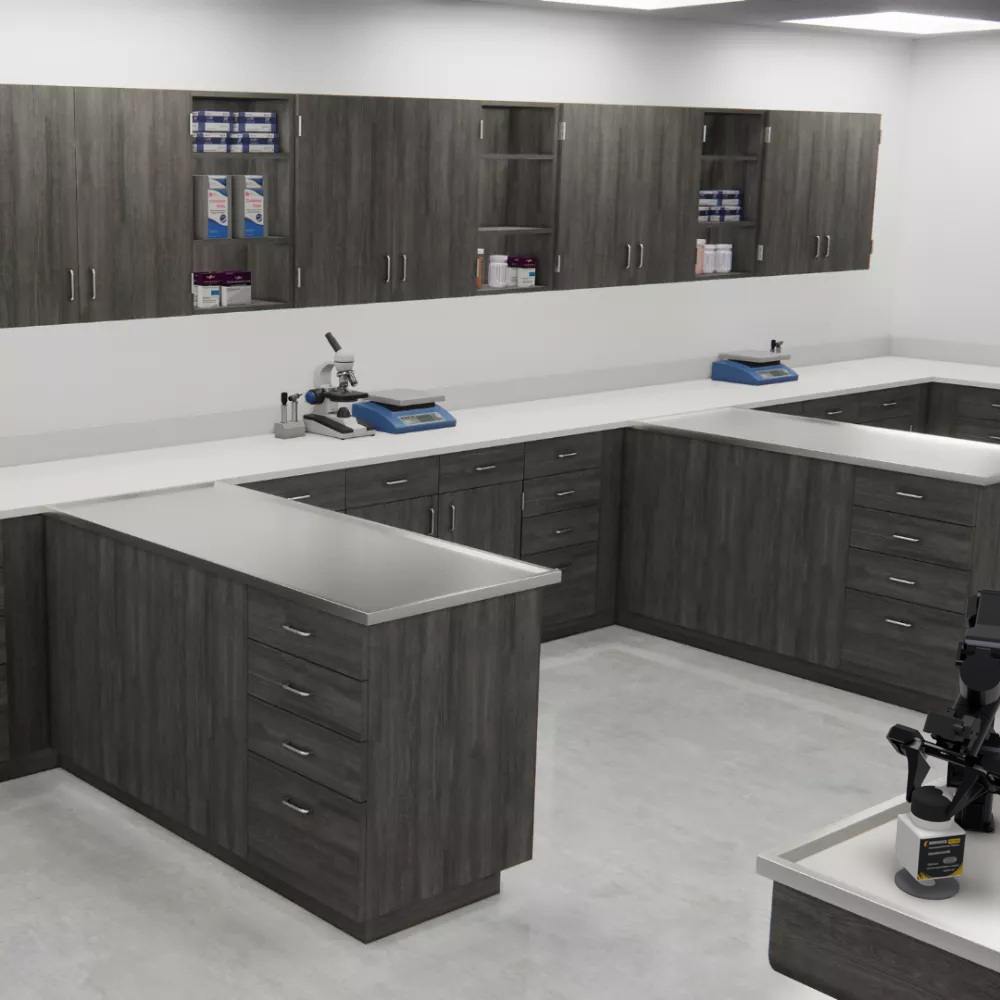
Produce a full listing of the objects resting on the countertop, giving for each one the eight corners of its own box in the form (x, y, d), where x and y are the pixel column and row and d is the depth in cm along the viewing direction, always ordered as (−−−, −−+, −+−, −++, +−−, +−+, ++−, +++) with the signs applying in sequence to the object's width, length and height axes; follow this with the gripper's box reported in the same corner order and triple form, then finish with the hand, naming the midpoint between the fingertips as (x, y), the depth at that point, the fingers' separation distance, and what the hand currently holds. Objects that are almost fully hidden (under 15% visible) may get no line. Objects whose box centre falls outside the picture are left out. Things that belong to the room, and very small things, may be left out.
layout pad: (894, 864, 214) (895, 862, 214) (958, 872, 212) (958, 870, 212) (893, 894, 206) (894, 892, 206) (959, 903, 204) (960, 901, 204)
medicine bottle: (917, 882, 205) (923, 805, 202) (893, 857, 211) (899, 782, 208) (963, 876, 206) (969, 800, 203) (938, 852, 213) (944, 778, 210)
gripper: (896, 671, 211) (851, 764, 206) (1017, 707, 198) (971, 807, 194) (921, 706, 218) (877, 796, 214) (1039, 743, 205) (995, 840, 201)
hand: (927, 808), depth 205 cm, fingers closed on medicine bottle, 6 cm apart
